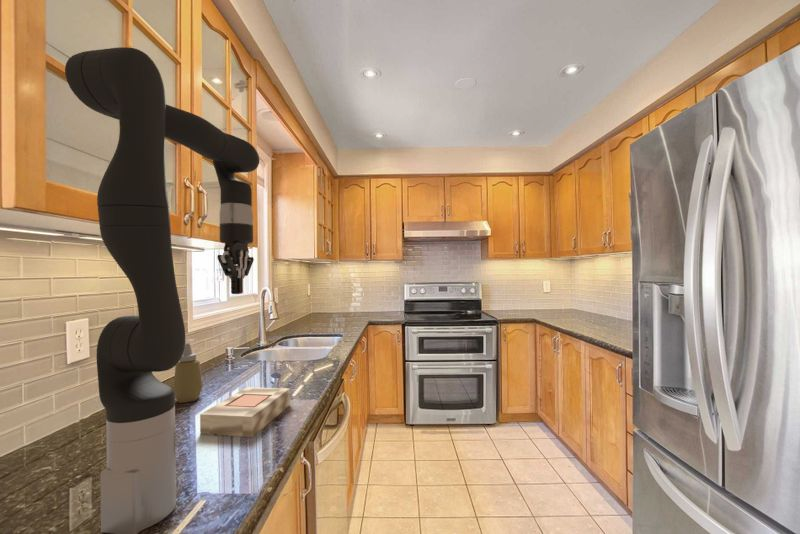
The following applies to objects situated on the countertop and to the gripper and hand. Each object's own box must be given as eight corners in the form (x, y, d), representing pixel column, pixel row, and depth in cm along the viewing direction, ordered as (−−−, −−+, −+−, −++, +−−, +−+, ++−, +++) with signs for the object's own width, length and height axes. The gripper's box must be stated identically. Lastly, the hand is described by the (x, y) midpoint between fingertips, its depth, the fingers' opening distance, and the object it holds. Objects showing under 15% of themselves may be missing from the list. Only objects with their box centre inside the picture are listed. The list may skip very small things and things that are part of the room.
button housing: (252, 437, 84) (251, 416, 84) (200, 434, 86) (200, 414, 86) (289, 405, 104) (289, 388, 104) (247, 403, 106) (246, 387, 106)
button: (254, 421, 90) (254, 406, 90) (227, 420, 92) (227, 405, 92) (269, 409, 98) (269, 395, 98) (244, 408, 99) (244, 394, 99)
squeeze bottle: (189, 405, 105) (188, 346, 105) (166, 403, 106) (166, 345, 107) (208, 395, 113) (208, 341, 113) (187, 394, 114) (187, 340, 115)
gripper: (236, 219, 78) (237, 295, 78) (263, 227, 91) (264, 292, 91) (205, 220, 79) (205, 295, 78) (236, 227, 92) (236, 292, 91)
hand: (237, 293), depth 85 cm, fingers closed
